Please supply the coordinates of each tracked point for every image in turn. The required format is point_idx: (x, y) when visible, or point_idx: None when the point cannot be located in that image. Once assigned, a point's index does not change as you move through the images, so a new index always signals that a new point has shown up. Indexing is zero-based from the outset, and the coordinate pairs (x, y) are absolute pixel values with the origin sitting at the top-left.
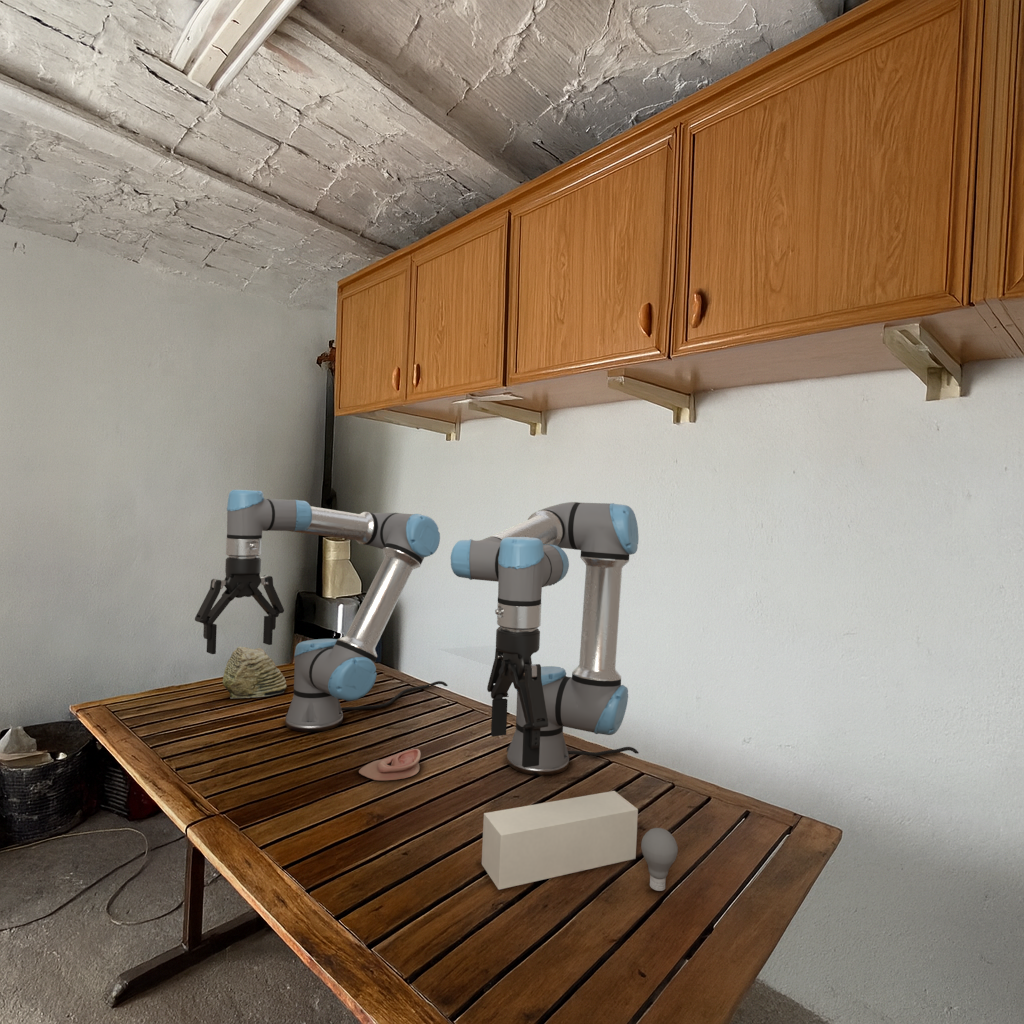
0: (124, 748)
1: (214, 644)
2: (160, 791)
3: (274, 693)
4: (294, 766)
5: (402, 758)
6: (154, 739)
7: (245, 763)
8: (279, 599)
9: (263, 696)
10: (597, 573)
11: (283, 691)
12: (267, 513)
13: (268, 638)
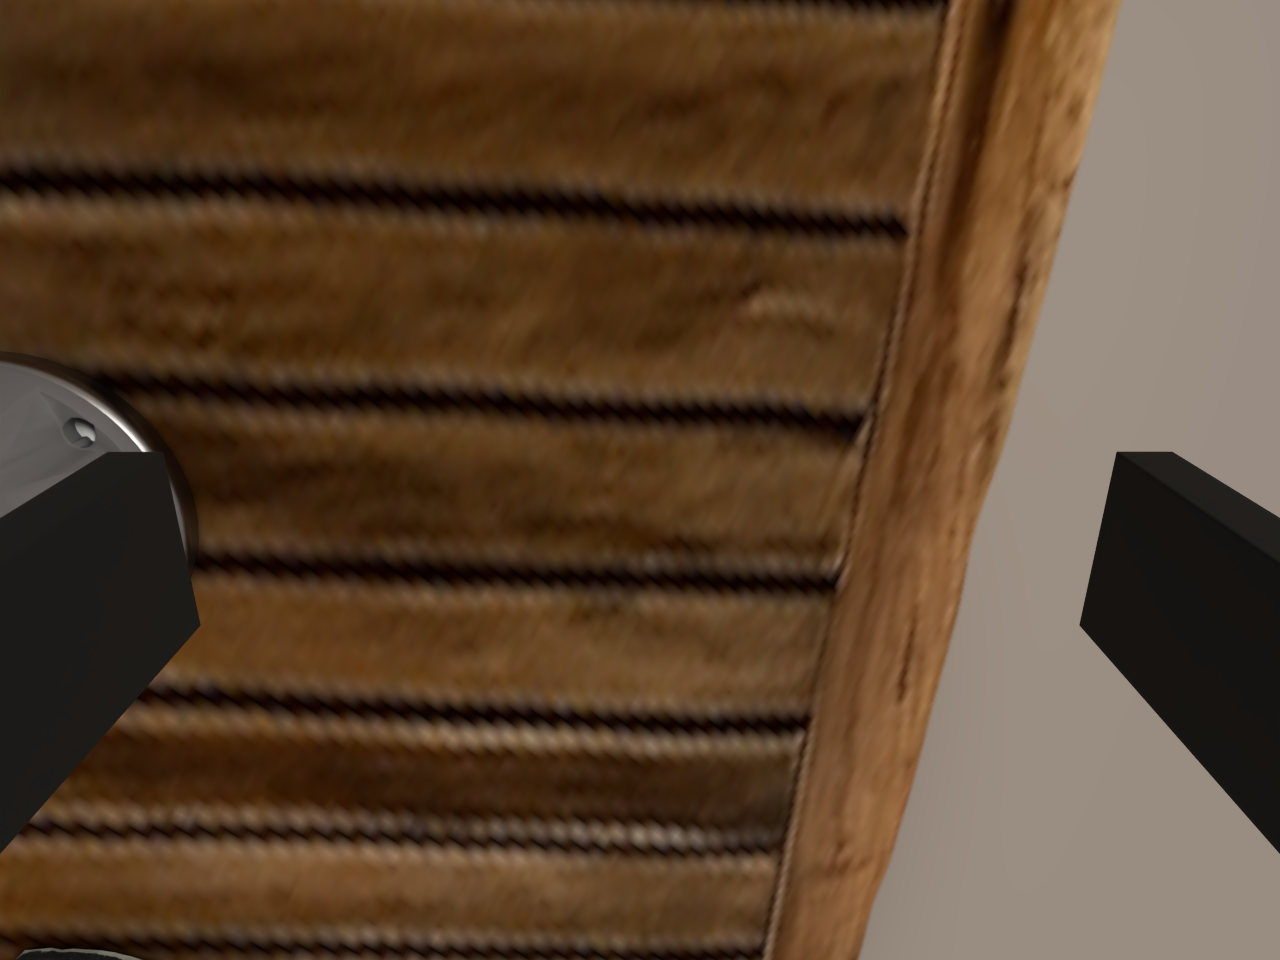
0: (884, 782)
1: (1244, 514)
2: (1038, 239)
3: (72, 955)
4: (405, 9)
5: None
6: (752, 796)
7: (589, 256)
8: None
9: (134, 958)
10: None
11: (19, 957)
12: None
13: (108, 525)
